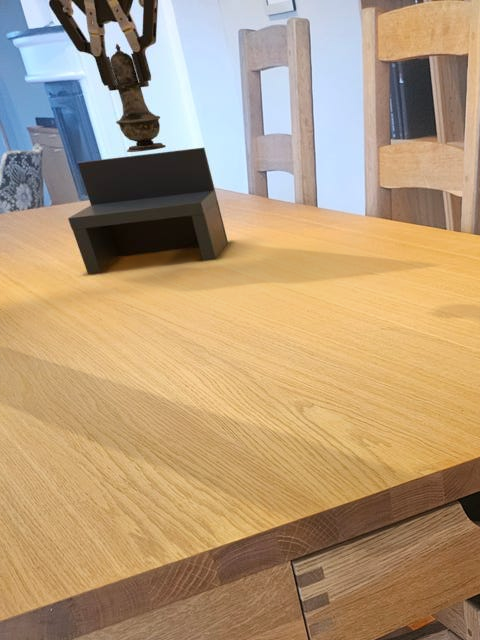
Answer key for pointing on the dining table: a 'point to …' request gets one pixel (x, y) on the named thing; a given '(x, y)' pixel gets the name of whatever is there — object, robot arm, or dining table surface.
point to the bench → (148, 207)
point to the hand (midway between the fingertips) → (128, 87)
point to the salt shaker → (134, 105)
